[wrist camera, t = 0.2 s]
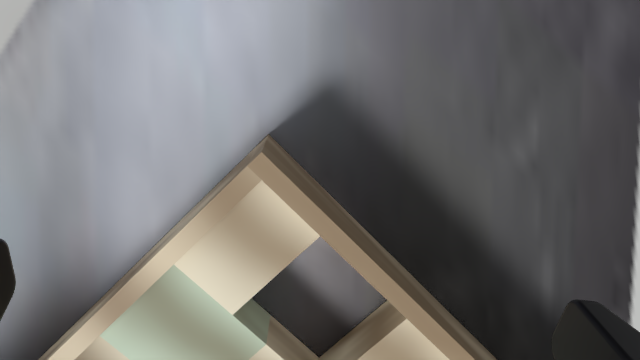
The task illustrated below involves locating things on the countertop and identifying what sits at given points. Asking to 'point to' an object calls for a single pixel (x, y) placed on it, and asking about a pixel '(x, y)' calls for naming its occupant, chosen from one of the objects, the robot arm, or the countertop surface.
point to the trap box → (258, 282)
